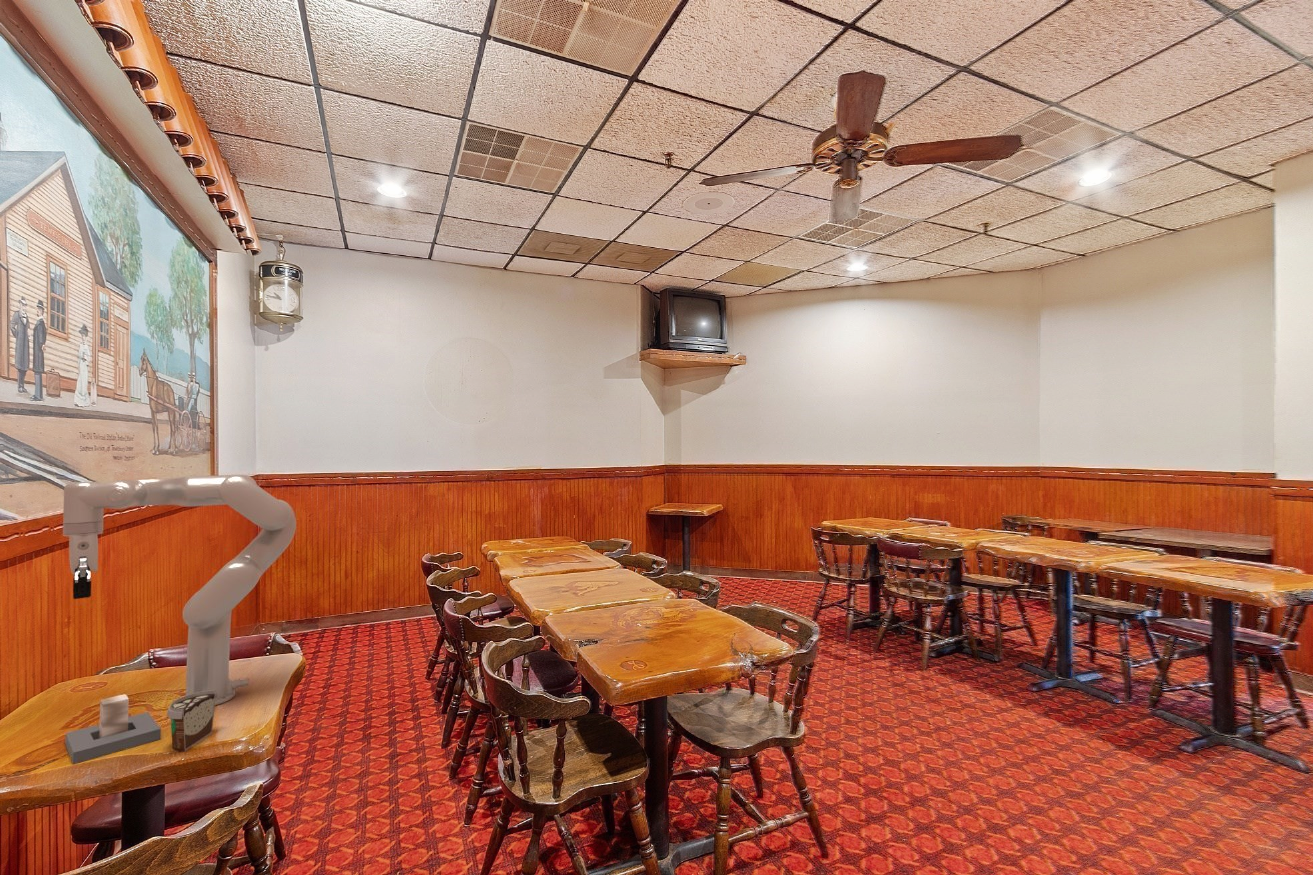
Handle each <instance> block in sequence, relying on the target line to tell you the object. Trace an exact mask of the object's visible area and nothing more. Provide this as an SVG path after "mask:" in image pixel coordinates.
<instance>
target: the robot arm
mask: <svg viewBox="0 0 1313 875" xmlns="http://www.w3.org/2000/svg"><path fill="white" fill-rule="evenodd" d="M164 505H165V506H168V505H169V506H178V507H179V506H180V507H202V506H203V507H205V506H221V505H222V506H223V505H228V506H229V507H230V508H232V509H233V510H234V511H235V512H237V513H238V514H241V515H242V516H243V517H244V518H246V519H247V520H249V521H251V523H253V524H254V525H257V526H258V527H260V528H261V530H260V532H259V533H258V535H256V537H255V538H254V539H252V540H251V542H250V543H249V544H248V545H247V546H246V547H245V548H244V549H242V550H241V551H240V553H238V554H237V555H236V556H235V557H234V558H233V559H231V560H230V561H228V562H227V563H226V564H225V565H224V566H223V567H222V568H220V570H219V571H218V572H216V573H215V574H214V576H212V578H211V579H209V581H207V583H206V584H205V585H203V586H202V587H201V589H199V590H198V591H196V592H195V593H194V594H193V595H191V598H190V599H189V600H188V601H187V602H186V603H185V604H184V607H183V609H182V620H183V621H184V623H185V625H187V626H188V631H187V647H186V678H185V679H186V681H185V684H186V685H185V696H187V695H190V694H194V693H198V692H203V691H211V690H216V692H217V698H215V706H216V705H221V704H223V703H227V702H228V701H230V700H232V699H233V698H234V697H235V695H236V689H237V688H239V687H240V688H242V687H246V686H248V685H249V684H250V682H249V678H243V679H241V678H237V679H232V680H231V679H230V648H231V647H230V646H231V625H232V624H231V621H232V612H233V611H232V610H233V609H234V608H236V606H237V605H238V604H239V603H240V602H241V601H242V600H243V599H244V598H245V597H246V596H247V595H248V594H249V593H250V592H251V591H252V590H253V589H254V588H255V587H256V585H257V584H258V582H259V580H260V578H261V577H262V576H263V574H264V573H266V571H267V570H268V569H269V568H270V567H271V565H273V564H274V563H275V562H276V561H277V560H278V559H279V557H280V556H282V554H283V553H284V552H285V550H286V549H287V548H288V547H289V545H290V544H291V542H292V540H293V538H294V536H295V534H296V529H297V519H296V515H295V512H294V510H293V508H292V506H291V505H290V504H289V503H288V502H287V501H285V500H282V499H277V498H276V497H274V496H273V495H271V494H270V493H269V492H268V491H267V490H264V489H263V488H262V487H260V486H259V485H258V483H257V482H256V480H255V479H254V478H253V477H252V476H249V475H247V474H223V475H218V474H217V475H189V476H188V475H186V476H180V477H175V478H174V477H173V478H152V479H150V478H149V479H121V480H112V481H106V482H105V481H104V482H98V481H78V482H77V481H76V482H69V483H67V484H66V485H64V488H63V508H62V509H63V511H62V512H63V515H62V521H63V522H62V536H63V537H68V538H69V540H68V543H69V546H68V558H69V566H70V573H71V574H72V575H74V577H73V581H72V584H73V585H72V593H73V594H72V598H73V599H74V600H78V599H85V598H91V597H92V581H91V572H93V573H96V572H98V570H99V569H98V568H99V566H98V565H99V563H98V560H99V539H98V538H99V537H98V535H101V534H104V511H105V510H104V509H113V510H115V509H116V510H121V509H126V508H127V509H128V508H130V507H143V506H144V507H145V506H146V507H147V506H164Z"/></svg>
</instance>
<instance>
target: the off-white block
mask: <svg viewBox="0 0 1313 875" xmlns="http://www.w3.org/2000/svg"><path fill="white" fill-rule="evenodd" d="M99 700H100V703H99V724H98V725H99V739H100V738H104V737H107V736H111V735H115V734H119V733H122V732H126V731H128V717H129V704H130V702H129V700H130V699H129V697H128V695H127V694H119V695H115V696H111V697H107V698H102V699H99Z"/></svg>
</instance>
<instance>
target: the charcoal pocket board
mask: <svg viewBox="0 0 1313 875" xmlns="http://www.w3.org/2000/svg"><path fill="white" fill-rule="evenodd" d="M161 732H162V728H161V727H160V725H159V724H158V723H157V722H156V721H155V719H154V718H153V717H152V715H151V714H150V713H149V711H147V712H142V713H139V714H134V715H130V716H128V731H126V732H122V733H119V734H115V735H111V736H107V737H104V738H100V739H99V724H95V725H92V726H87V727H84V728H80V729H75V730H72V731H68V732H65V737H64V739H65V741H64V743H65V747H66V749H67V750H66V751H68V752H67V753H68V754H69V757H70V760H71V763H72V765H75V764H79V763H82V762H86V761H89V760H93V759H96V758H100V757H103V755H104V756H107V755H110V753H111V754H113V753H112V752H114V753H116V751H118V750H121V751H123V749H125V750H127V749H126V748H128V749H131V747H132V748H135V747H139V746H142V745H146V744H148V743H152V742H155V741H159V740H161V736H162V733H161ZM134 746H135V747H134ZM118 752H119V751H118ZM106 754H107V755H106ZM99 756H100V757H99ZM92 758H93V759H92ZM85 760H86V761H85ZM78 762H79V763H78Z"/></svg>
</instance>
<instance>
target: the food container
mask: <svg viewBox="0 0 1313 875" xmlns="http://www.w3.org/2000/svg"><path fill="white" fill-rule="evenodd" d="M215 698H217V692H216V690H211V691H203V692H198V693H194V694H190V695H187V696H186V695H184V696H181V697H179V698H177V699H175V700H174V701H172V702H171V703H170V705H169V707H168V708H167V712H166V717H167V718H169V719H170V727H171V728H170V730H171V744H172V749H173V751H176V752H186V751H187V750H189V749H190V748H192V747H193V746H195V745H196V744H198V743H199V742H201V741H202V740H203V739H205V738H207V737H208V736H209V735H212V734H213V729H214V728H213V727H214V717H215V708H216V707H215V706H216V705H215Z"/></svg>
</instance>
